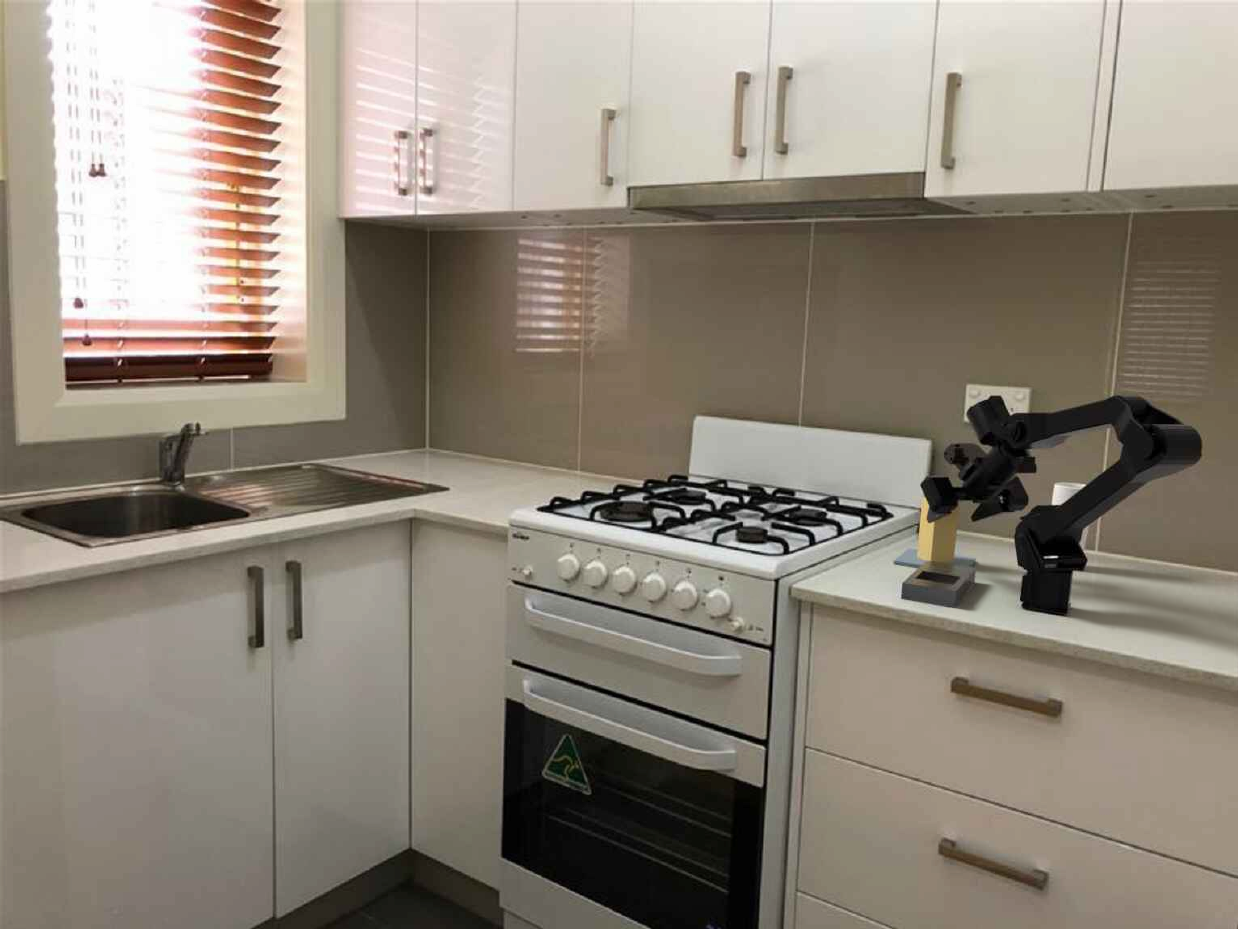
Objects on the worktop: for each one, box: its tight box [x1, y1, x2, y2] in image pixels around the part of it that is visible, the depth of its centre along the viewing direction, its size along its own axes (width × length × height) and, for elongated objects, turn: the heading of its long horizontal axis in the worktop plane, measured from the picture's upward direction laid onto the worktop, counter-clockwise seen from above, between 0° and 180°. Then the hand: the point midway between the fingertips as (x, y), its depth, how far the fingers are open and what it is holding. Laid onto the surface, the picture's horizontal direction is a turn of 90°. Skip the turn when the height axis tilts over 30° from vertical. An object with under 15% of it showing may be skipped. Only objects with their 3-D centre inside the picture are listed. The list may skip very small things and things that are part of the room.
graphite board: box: [900, 560, 977, 608], centre depth 160 cm, size 8×18×2 cm, turn 151°
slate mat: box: [892, 548, 976, 569], centre depth 179 cm, size 12×12×1 cm
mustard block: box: [917, 496, 960, 563], centre depth 178 cm, size 5×5×11 cm
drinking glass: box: [1049, 482, 1090, 558], centre depth 179 cm, size 7×7×15 cm
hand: (950, 520), depth 174 cm, fingers open, 9 cm apart
